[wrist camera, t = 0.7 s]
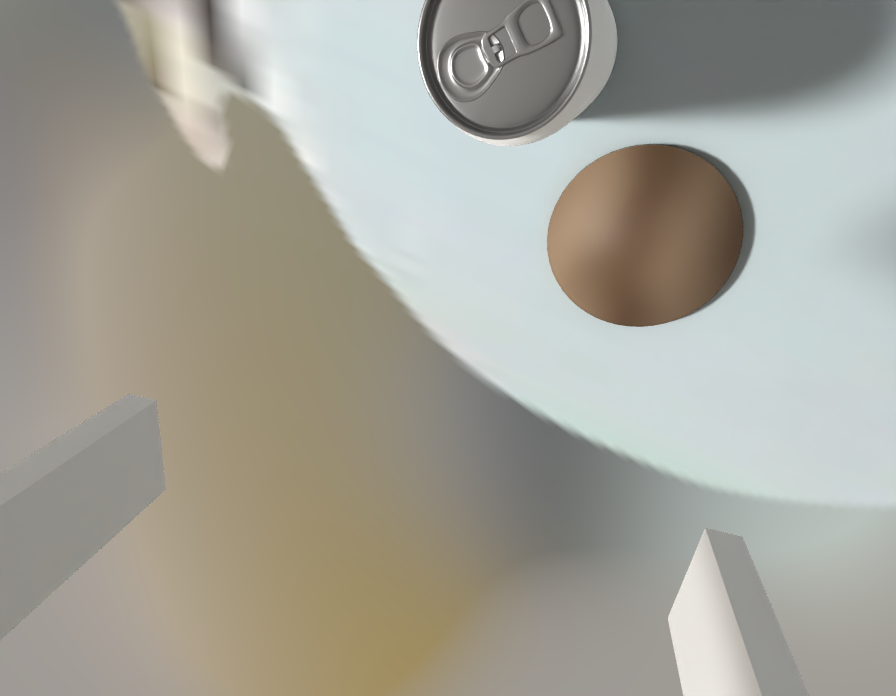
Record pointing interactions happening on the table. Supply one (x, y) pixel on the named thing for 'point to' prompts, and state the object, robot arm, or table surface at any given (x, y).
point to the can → (515, 63)
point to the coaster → (645, 235)
